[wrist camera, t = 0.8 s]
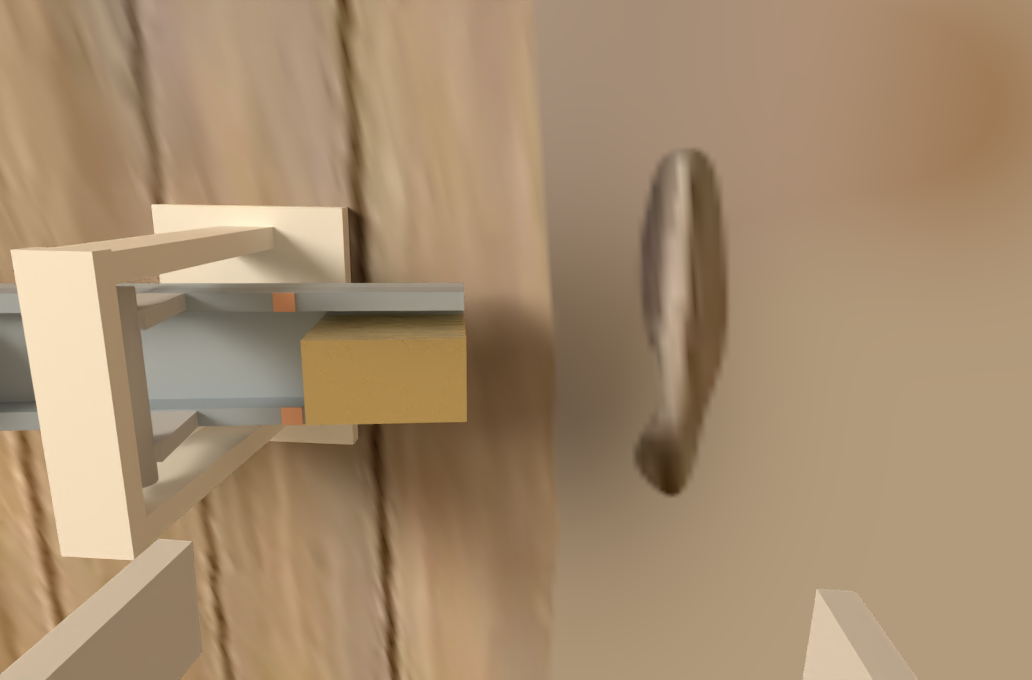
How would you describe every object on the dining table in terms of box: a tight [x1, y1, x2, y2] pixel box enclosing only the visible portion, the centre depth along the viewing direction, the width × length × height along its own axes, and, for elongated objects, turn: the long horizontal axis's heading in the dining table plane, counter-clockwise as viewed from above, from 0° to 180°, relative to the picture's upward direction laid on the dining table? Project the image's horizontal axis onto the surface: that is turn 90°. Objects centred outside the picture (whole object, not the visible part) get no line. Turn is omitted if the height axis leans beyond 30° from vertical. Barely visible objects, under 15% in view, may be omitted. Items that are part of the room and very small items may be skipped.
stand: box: [11, 204, 358, 560], centre depth 32 cm, size 14×11×16 cm
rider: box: [300, 314, 467, 425], centre depth 31 cm, size 4×7×6 cm, turn 89°
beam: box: [0, 283, 464, 488], centre depth 31 cm, size 8×28×8 cm, turn 89°
